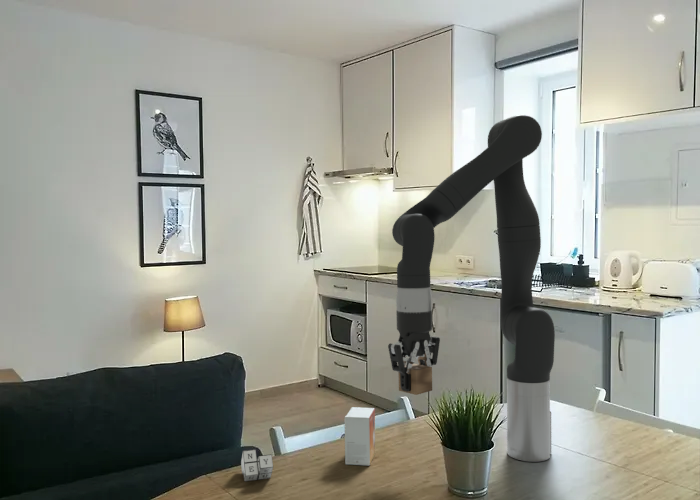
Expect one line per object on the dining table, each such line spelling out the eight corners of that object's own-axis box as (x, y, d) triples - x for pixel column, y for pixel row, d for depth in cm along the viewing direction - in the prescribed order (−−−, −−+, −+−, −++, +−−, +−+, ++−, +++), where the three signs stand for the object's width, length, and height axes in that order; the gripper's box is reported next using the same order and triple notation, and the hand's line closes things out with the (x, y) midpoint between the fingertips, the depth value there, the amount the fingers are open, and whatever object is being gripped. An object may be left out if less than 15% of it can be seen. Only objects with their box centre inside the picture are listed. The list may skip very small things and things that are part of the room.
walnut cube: (414, 386, 132) (414, 363, 132) (432, 390, 128) (431, 367, 128) (398, 390, 129) (398, 367, 129) (416, 395, 125) (415, 370, 125)
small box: (370, 466, 130) (369, 417, 130) (344, 465, 131) (343, 416, 131) (375, 453, 138) (375, 407, 138) (351, 452, 139) (351, 406, 139)
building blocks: (243, 486, 125) (246, 470, 120) (241, 462, 129) (243, 444, 123) (269, 483, 127) (273, 466, 121) (266, 459, 130) (270, 441, 125)
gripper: (403, 313, 121) (405, 398, 121) (449, 306, 130) (451, 385, 131) (377, 310, 126) (378, 391, 127) (423, 304, 136) (424, 379, 136)
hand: (415, 388), depth 129 cm, fingers closed on walnut cube, 5 cm apart
